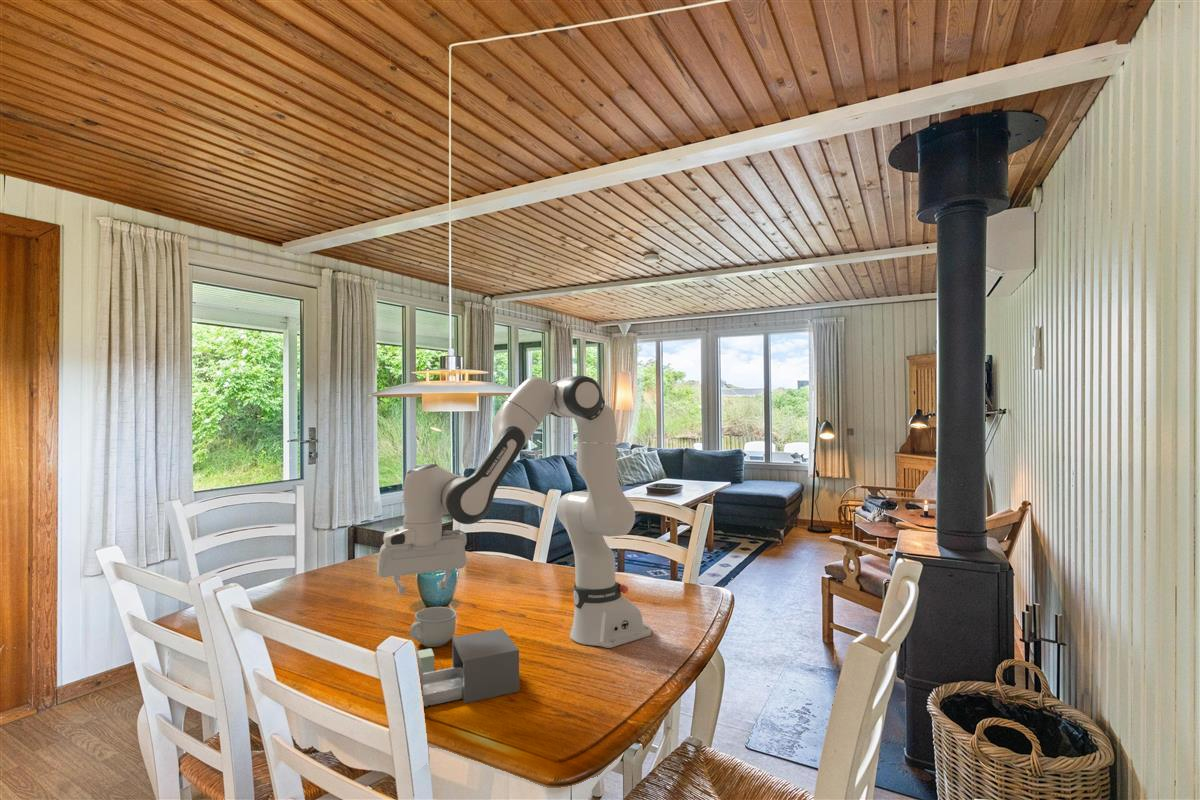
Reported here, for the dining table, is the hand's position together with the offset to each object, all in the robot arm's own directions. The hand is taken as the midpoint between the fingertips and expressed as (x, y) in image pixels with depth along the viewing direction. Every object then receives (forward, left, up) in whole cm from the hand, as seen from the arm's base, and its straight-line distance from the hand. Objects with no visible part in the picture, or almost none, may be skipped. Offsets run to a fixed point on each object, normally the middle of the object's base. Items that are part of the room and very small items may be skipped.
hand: (422, 591), depth 134 cm
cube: (0, 0, -19) cm, 19 cm away
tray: (-2, +12, -19) cm, 22 cm away
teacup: (-4, -16, -19) cm, 25 cm away
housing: (-12, +12, -19) cm, 26 cm away
